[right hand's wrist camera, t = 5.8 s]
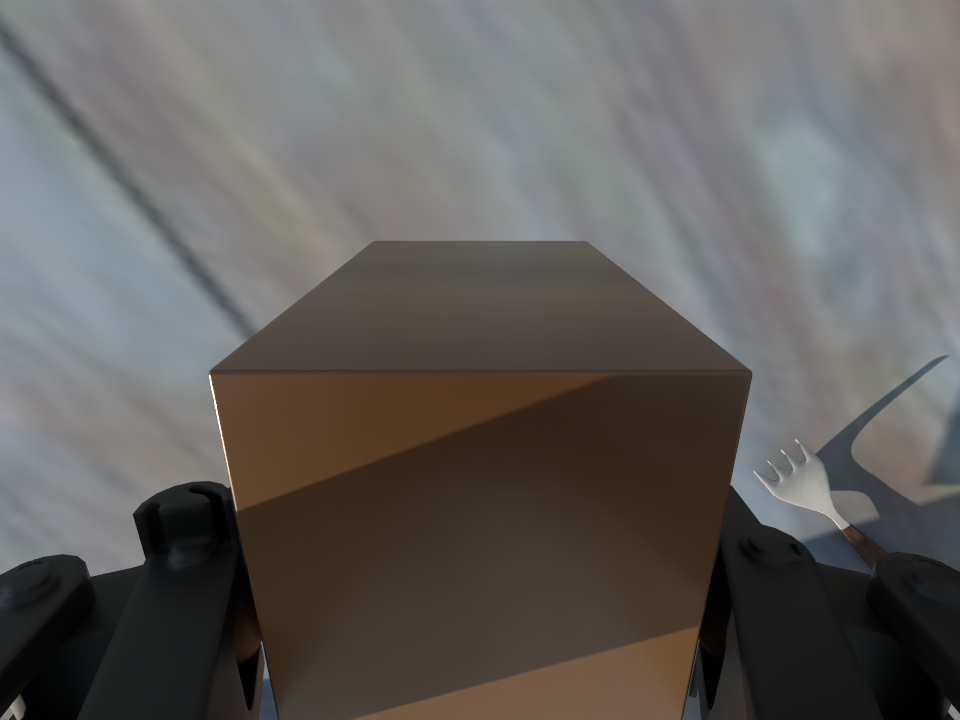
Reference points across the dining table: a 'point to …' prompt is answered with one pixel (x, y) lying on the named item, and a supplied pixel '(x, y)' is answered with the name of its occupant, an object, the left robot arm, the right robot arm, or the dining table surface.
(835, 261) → the dining table surface
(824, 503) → the fork
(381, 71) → the dining table surface
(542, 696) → the bar
